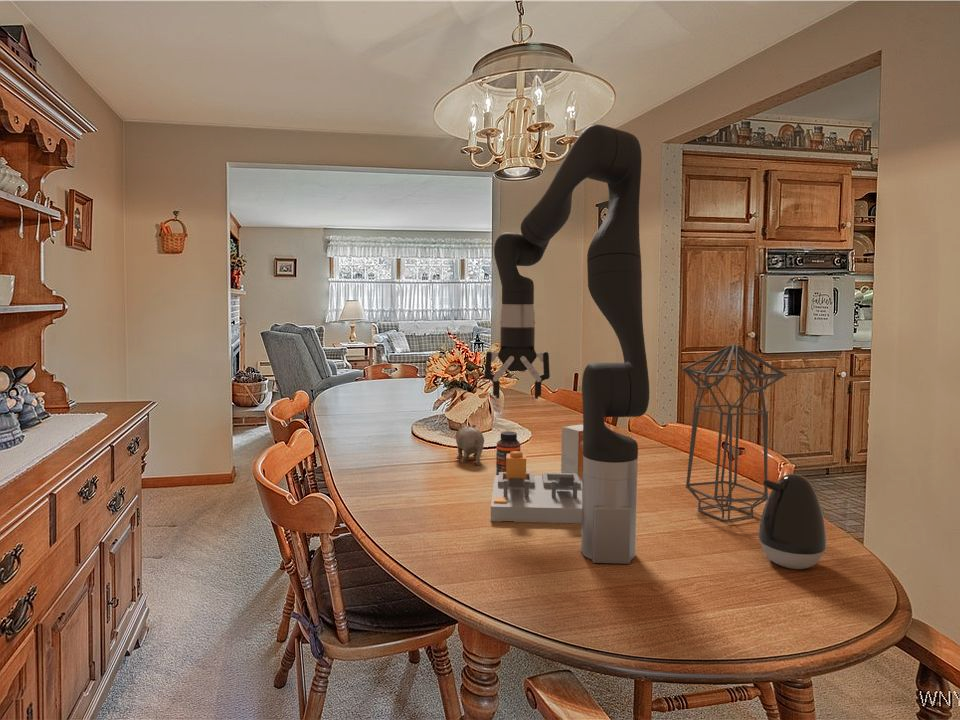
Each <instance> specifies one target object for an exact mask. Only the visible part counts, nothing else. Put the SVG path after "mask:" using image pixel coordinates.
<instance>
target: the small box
mask: <svg viewBox="0 0 960 720" xmlns="http://www.w3.org/2000/svg"><path fill="white" fill-rule="evenodd" d="M560 454H561V455H560V457H561V458H560V461H561V463H560V473H577V474H578V477H581V478H582V481H583V423H581V424H575V425H574V424H573V425H569V426H568V425H567V426H561V453H560Z"/></svg>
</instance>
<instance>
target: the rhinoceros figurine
mask: <svg viewBox="0 0 960 720" xmlns="http://www.w3.org/2000/svg"><path fill="white" fill-rule="evenodd" d="M455 441H456V446H457V453H458V455H457V456H456V458H457V459H460V460H459V461H460V462H459V463H467V462H468V460H469V459H470V456H471V455H473V456H476V457H475V462H474V465H475V466H476V467H478V466H482V462H481V455H482V453H483V449H484V444H485V437H484V434H483V430H481V431H480V430H479V429H477V428H476V424H472V425H471V426H469V425H468V424H466V423H464V424H463V425H462V426H461V427H460V428H459V429H458V430H457V432H455Z"/></svg>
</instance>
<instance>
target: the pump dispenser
mask: <svg viewBox="0 0 960 720" xmlns="http://www.w3.org/2000/svg"><path fill="white" fill-rule="evenodd" d="M762 484H763V486H764V485H765V486H767V487H768V489H771V491H770V493H769V494H768V499H767V500H766V501H765V504H764V508H763V510H762V514H761V518H760V522H759V529H758V540H759V541H760V545H761V547H762V551H763V552H764V554H765V556H766V557H767V558H768V559H769V560H770V561H772V562H773V563H774V564H777V565H778V566H780V567H783V568H787V569H792V570H803V569H808V568H811V567H813V566H815V565H817V563H818V562H820V560H821V558H822V556H823V553H824V551H825V552H826V550H827V533H826V530H827V529H826V524H825V518H824V514H823V510H822V505H821V504H820V501H819V497H818V495H817V492H816V491H815V489H814V486H813V485H812V483H811V482H810V480H808V479H807V478H806V477H804V476H803V475H800V474H797V473H789V474H786V475H783V476H781V477H780V478H779V479H778V480H777V481H776V482H775V481H773V480H770V479H768V478H767V479H765V480H763V481H762Z"/></svg>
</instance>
